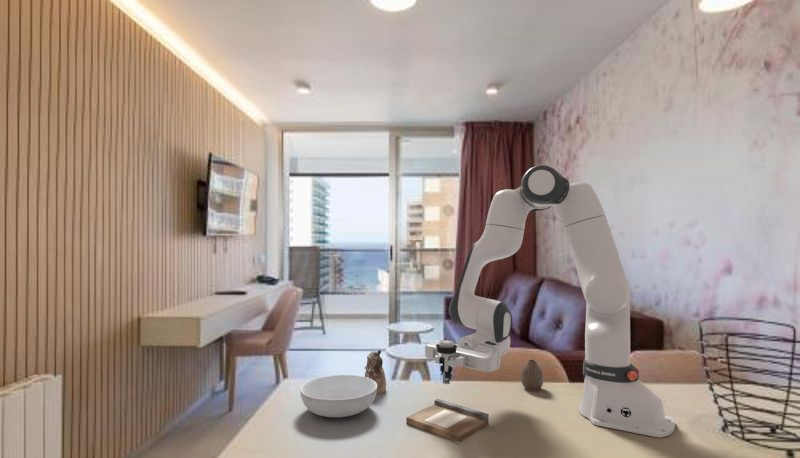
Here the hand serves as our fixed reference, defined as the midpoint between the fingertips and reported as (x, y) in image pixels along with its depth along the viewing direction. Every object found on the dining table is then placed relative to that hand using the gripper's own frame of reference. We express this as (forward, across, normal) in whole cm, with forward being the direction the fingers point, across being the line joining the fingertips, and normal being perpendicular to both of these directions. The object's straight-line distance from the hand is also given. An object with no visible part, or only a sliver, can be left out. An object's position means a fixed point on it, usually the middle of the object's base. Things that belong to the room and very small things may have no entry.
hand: (443, 361), depth 112 cm
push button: (-1, 0, +5) cm, 5 cm away
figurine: (-7, -31, +17) cm, 35 cm away
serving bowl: (+11, -27, +17) cm, 33 cm away
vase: (-41, +5, +16) cm, 44 cm away
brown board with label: (-1, 0, +16) cm, 16 cm away
